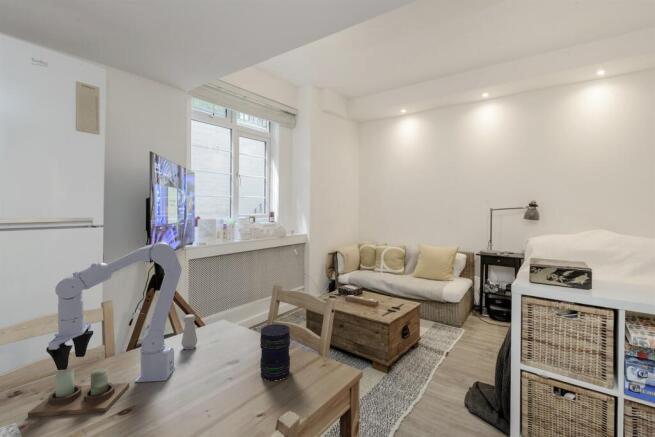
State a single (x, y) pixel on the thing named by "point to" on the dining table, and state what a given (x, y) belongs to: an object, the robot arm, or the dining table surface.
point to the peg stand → (83, 397)
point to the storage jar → (275, 352)
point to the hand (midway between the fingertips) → (71, 362)
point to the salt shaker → (189, 333)
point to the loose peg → (64, 383)
